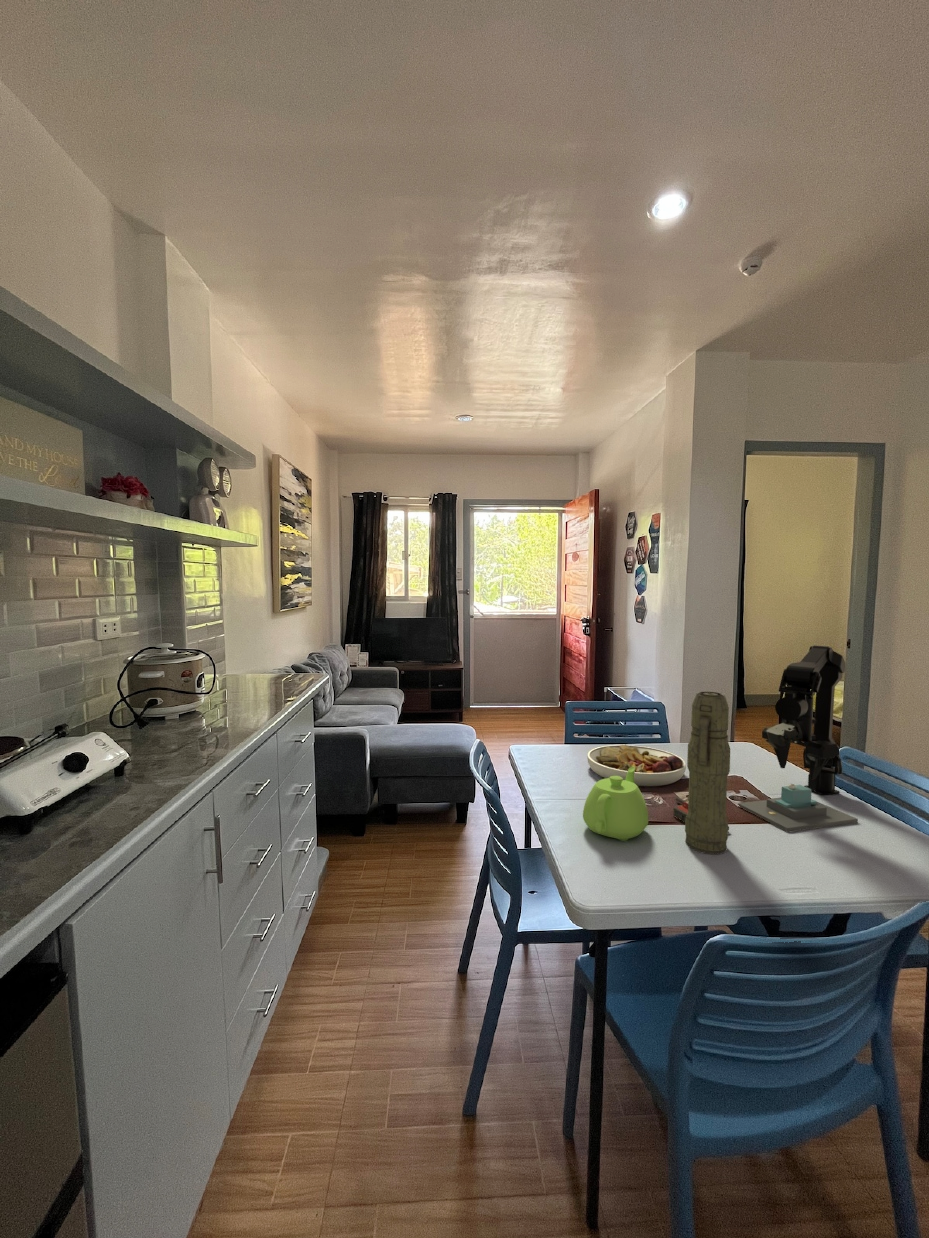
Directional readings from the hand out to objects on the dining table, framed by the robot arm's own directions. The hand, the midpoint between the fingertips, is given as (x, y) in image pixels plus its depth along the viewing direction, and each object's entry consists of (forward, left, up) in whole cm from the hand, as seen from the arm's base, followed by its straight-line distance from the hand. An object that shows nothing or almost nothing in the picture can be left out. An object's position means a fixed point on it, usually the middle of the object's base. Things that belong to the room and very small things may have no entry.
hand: (797, 773), depth 143 cm
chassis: (0, 0, -11) cm, 11 cm away
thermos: (+35, +9, -11) cm, 38 cm away
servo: (0, 0, -10) cm, 10 cm away
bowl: (+22, -40, -11) cm, 47 cm away
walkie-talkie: (+28, -5, -11) cm, 30 cm away
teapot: (+50, -4, -11) cm, 51 cm away
